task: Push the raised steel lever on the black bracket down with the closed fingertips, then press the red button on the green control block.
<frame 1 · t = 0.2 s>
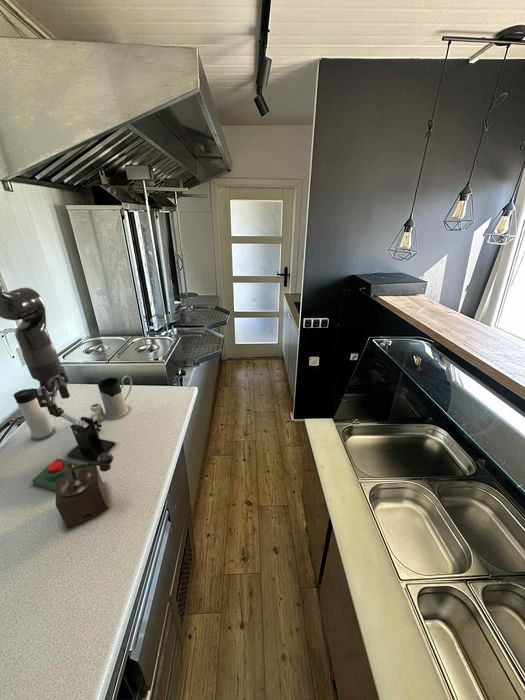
hand: (60, 405, 88), 23 cm above the countertop, tool pointing down, fingers open, 8 cm apart
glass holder: (122, 409, 123), on the countertop
valve: (97, 424, 115), on the countertop
lever: (70, 419, 97), point 13 cm above the countertop, hinge at 25.0°
button: (55, 467, 90), point 4 cm above the countertop, slide at 0.1 cm
bracket: (92, 450, 102), on the countertop
button block: (60, 477, 92), on the countertop
travel mug: (43, 434, 110), on the countertop
brown coffee grinder: (96, 501, 84), on the countertop
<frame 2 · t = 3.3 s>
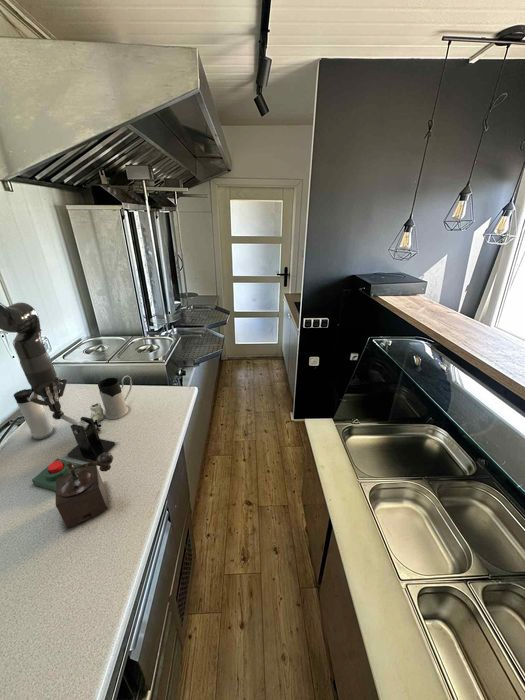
hand: (56, 410, 97), 16 cm above the countertop, tool pointing down, fingers closed
lever: (70, 420, 98), point 13 cm above the countertop, hinge at 17.8°
everything else where it was.
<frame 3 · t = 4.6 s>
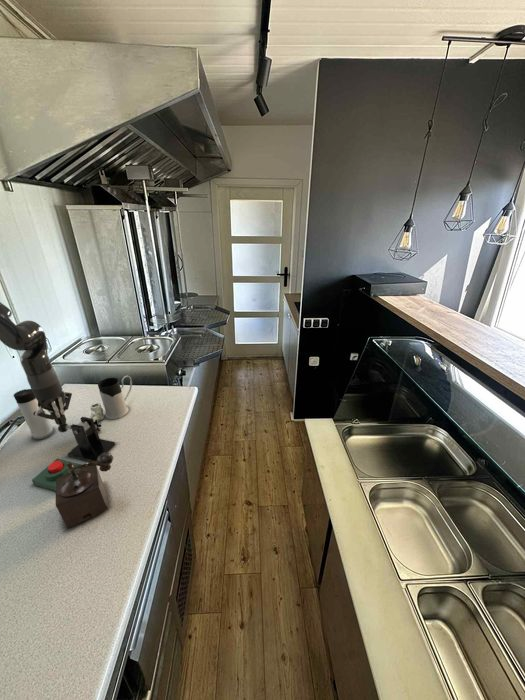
hand: (62, 423, 100), 10 cm above the countertop, tool pointing down, fingers closed
lever: (72, 427, 99), point 10 cm above the countertop, hinge at -15.3°
everything else where it was.
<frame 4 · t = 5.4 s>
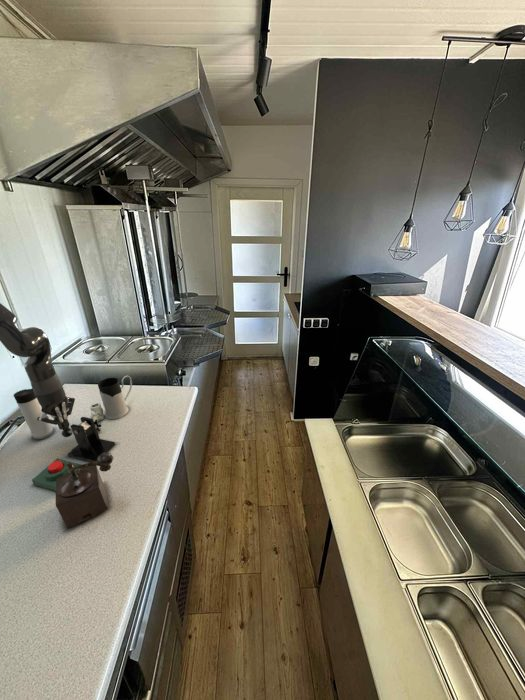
hand: (65, 428, 101), 8 cm above the countertop, tool pointing down, fingers closed
lever: (74, 429, 99), point 9 cm above the countertop, hinge at -28.1°, touching gripper
everything else where it was.
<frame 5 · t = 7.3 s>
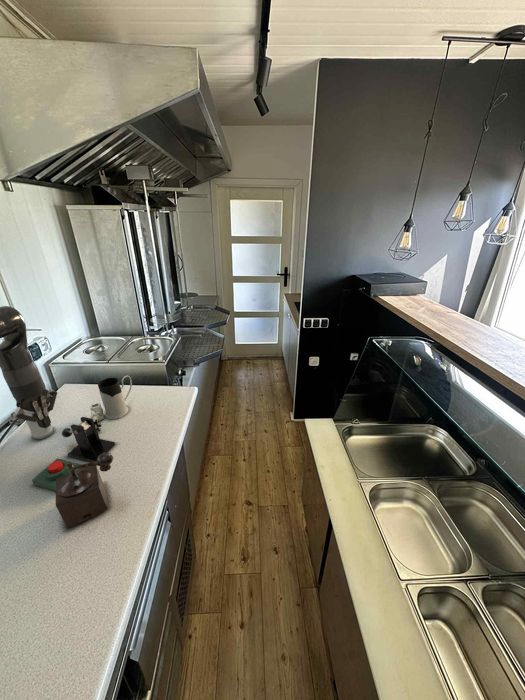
hand: (46, 426, 87), 18 cm above the countertop, tool pointing down, fingers closed
lever: (74, 429, 99), point 9 cm above the countertop, hinge at -28.2°
everything else where it was.
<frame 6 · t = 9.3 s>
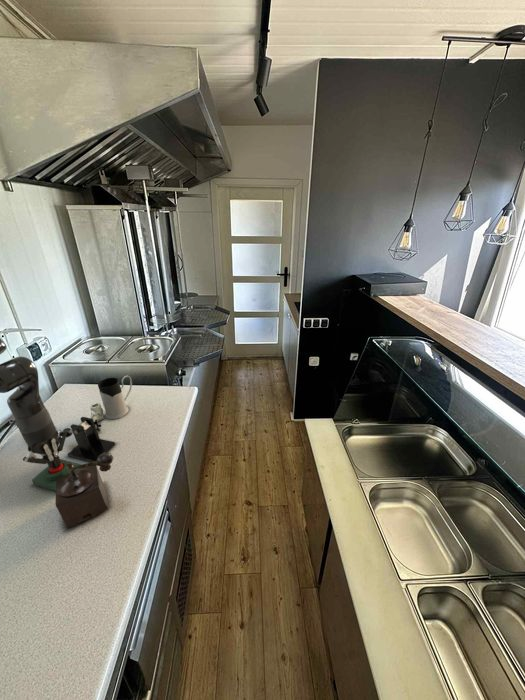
hand: (56, 466, 90), 5 cm above the countertop, tool pointing down, fingers closed
button: (56, 468, 90), point 4 cm above the countertop, slide at -0.6 cm, touching gripper
everything else where it was.
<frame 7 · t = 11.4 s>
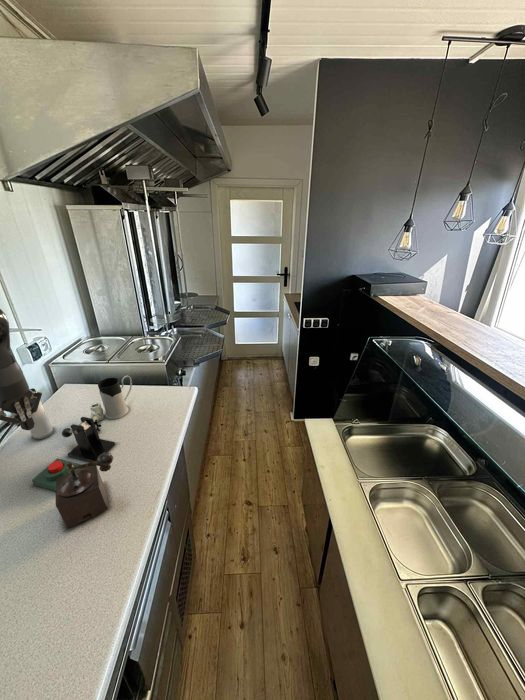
hand: (29, 428, 85), 19 cm above the countertop, tool pointing down, fingers closed
button: (55, 467, 90), point 4 cm above the countertop, slide at 0.1 cm
everything else where it was.
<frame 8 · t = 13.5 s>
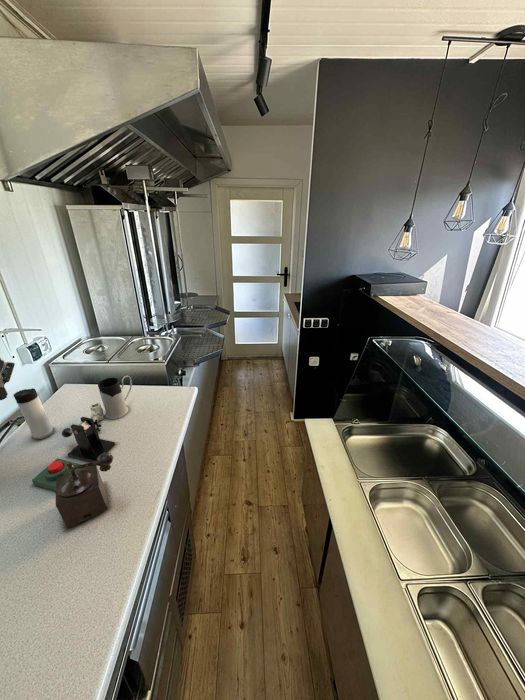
hand: (2, 398, 85), 27 cm above the countertop, tool pointing down, fingers closed
nothing on the countertop moved.
at the end: lever at -28° (first picture: +25°); button pushed in 1.1 cm at the most during the clip, back to where it started at the end; button slide at 0.1 cm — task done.
